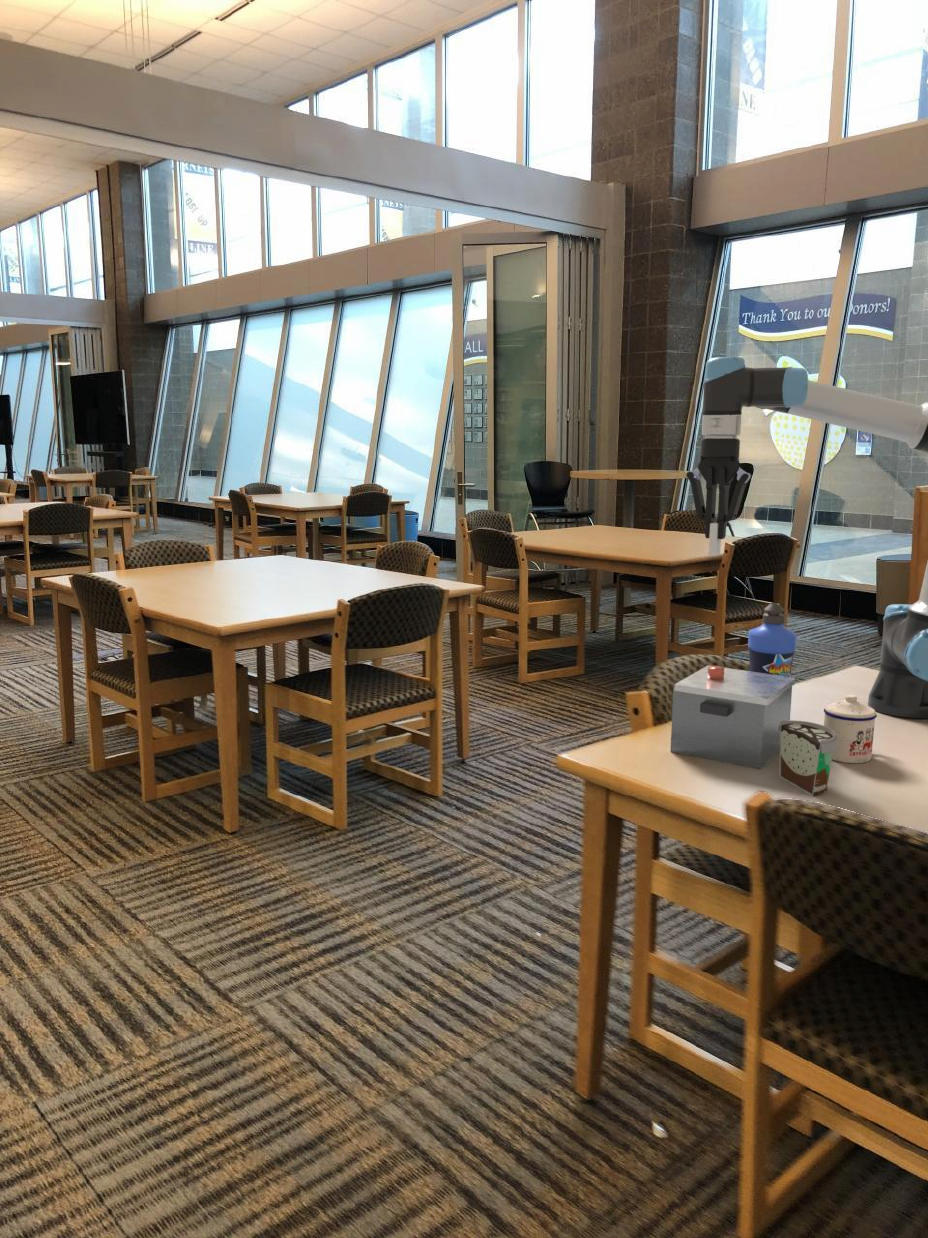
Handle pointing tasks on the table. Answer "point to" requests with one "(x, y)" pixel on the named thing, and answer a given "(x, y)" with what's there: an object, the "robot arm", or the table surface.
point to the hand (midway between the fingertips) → (714, 554)
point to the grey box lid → (735, 684)
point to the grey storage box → (728, 728)
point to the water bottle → (772, 645)
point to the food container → (806, 754)
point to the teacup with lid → (851, 729)
